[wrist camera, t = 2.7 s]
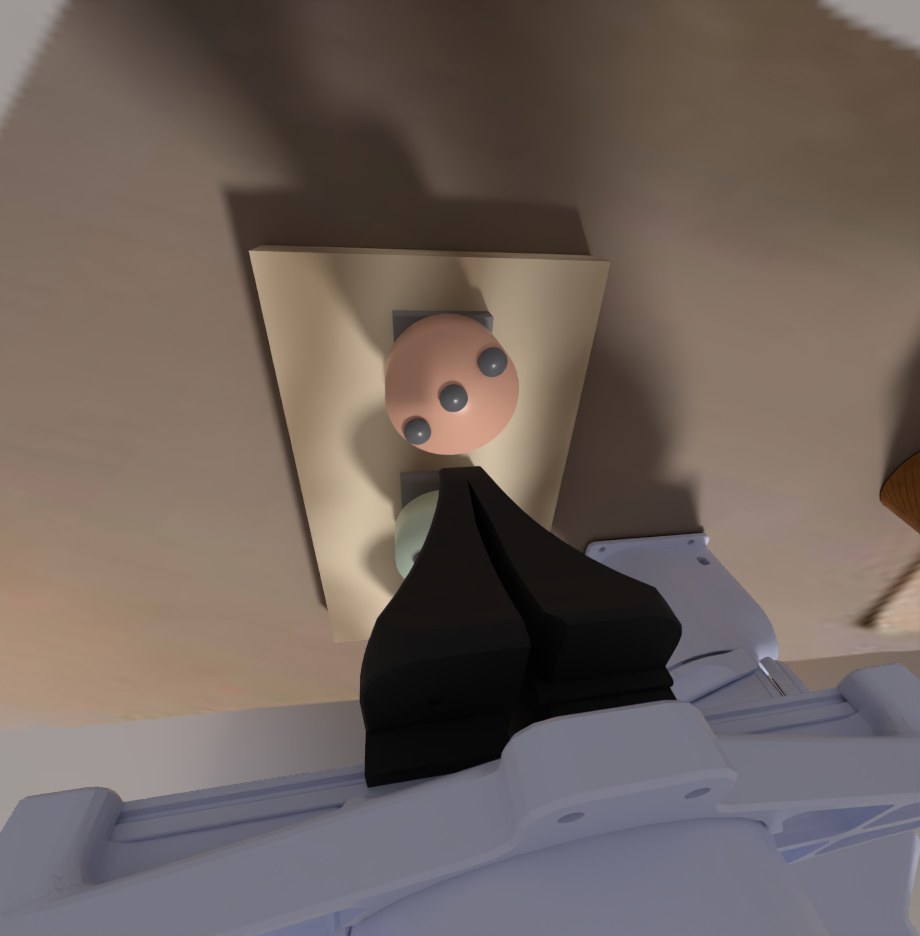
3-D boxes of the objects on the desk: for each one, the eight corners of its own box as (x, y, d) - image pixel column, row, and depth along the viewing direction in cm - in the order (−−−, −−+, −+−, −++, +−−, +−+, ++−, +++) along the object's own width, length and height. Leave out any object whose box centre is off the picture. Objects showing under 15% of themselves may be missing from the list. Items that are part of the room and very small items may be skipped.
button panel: (591, 255, 18) (622, 265, 16) (522, 599, 32) (533, 633, 29) (262, 244, 16) (240, 254, 14) (337, 617, 30) (333, 656, 27)
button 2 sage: (493, 486, 19) (503, 516, 18) (485, 557, 22) (493, 588, 20) (392, 492, 19) (392, 523, 17) (396, 564, 21) (397, 597, 20)
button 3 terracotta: (512, 314, 15) (528, 330, 13) (499, 428, 18) (511, 454, 16) (381, 313, 14) (380, 329, 13) (388, 432, 17) (388, 459, 15)
